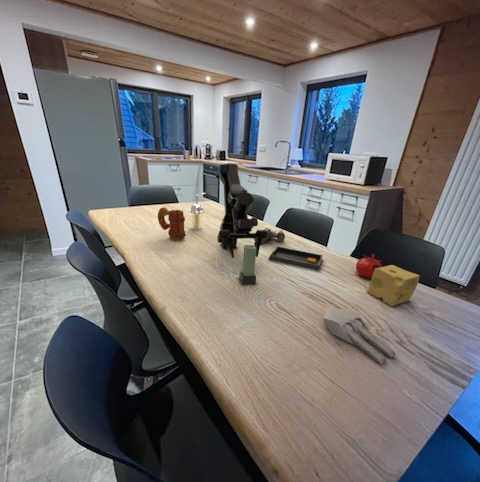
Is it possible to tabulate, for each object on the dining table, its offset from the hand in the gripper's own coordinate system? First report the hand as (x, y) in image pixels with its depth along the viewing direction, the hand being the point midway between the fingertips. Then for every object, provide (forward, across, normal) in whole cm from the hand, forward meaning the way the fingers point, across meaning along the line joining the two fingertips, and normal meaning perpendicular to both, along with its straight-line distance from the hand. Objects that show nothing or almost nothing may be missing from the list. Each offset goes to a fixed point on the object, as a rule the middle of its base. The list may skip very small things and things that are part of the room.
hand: (245, 257), depth 98 cm
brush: (+9, 0, +2) cm, 9 cm away
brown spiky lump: (-20, +24, +31) cm, 44 cm away
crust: (0, +32, +10) cm, 34 cm away
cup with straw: (-36, -12, +48) cm, 62 cm away
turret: (+33, +21, -23) cm, 46 cm away
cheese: (+21, +48, -10) cm, 53 cm away
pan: (-3, +27, +14) cm, 30 cm away
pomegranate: (+9, +51, +2) cm, 52 cm away
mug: (-25, -26, +36) cm, 51 cm away
